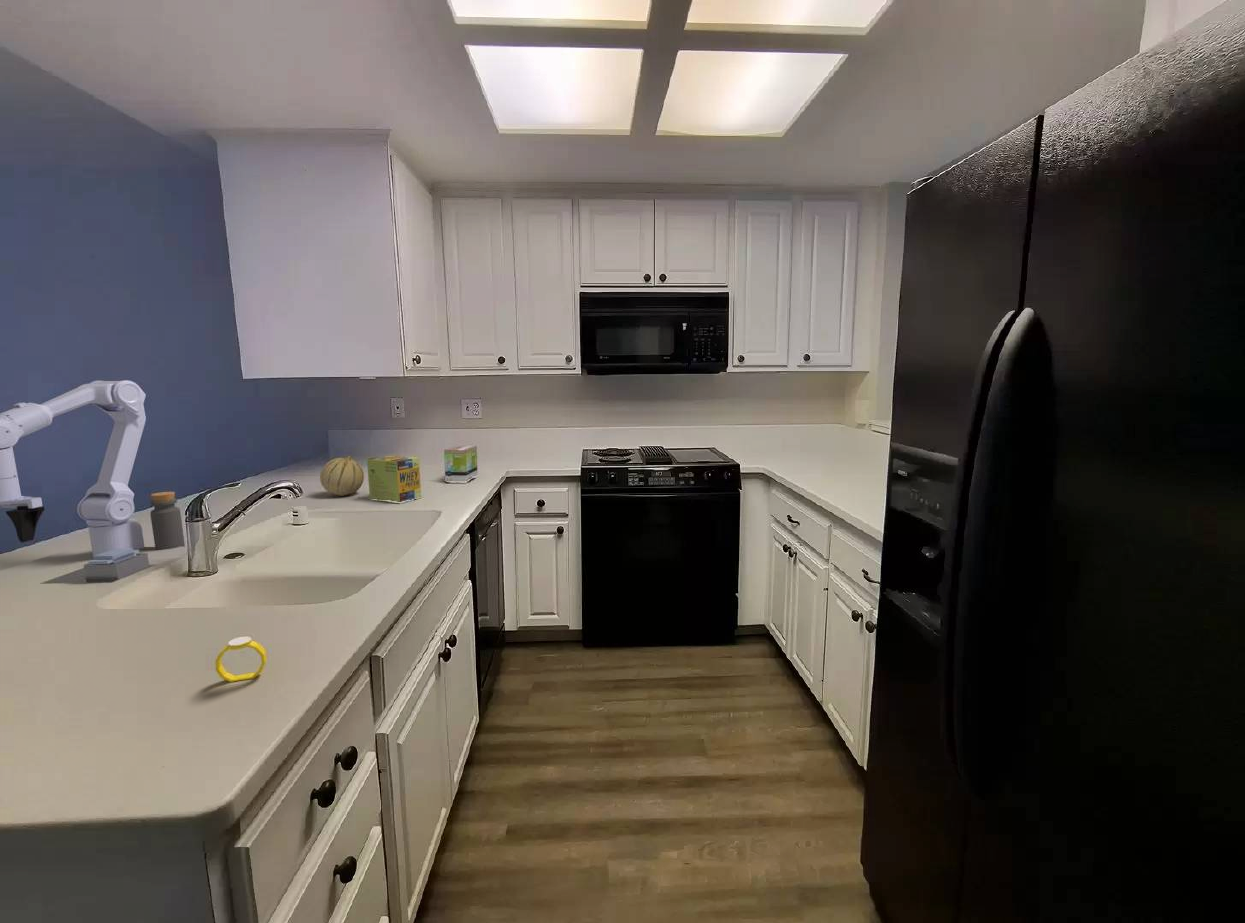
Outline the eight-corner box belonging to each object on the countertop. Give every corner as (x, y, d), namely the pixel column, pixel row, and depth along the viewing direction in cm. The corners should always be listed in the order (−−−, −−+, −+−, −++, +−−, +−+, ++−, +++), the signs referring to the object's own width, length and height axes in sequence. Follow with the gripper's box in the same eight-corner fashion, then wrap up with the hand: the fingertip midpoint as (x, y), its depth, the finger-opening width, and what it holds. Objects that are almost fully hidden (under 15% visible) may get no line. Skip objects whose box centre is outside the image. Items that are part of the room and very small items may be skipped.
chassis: (91, 569, 123) (88, 551, 123) (156, 568, 124) (153, 550, 123) (40, 587, 112) (37, 568, 112) (112, 586, 113) (109, 567, 112)
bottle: (182, 544, 142) (174, 490, 140) (187, 549, 138) (180, 492, 136) (153, 550, 137) (145, 493, 135) (158, 554, 134) (150, 496, 131)
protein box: (400, 504, 188) (397, 461, 185) (369, 500, 194) (365, 458, 192) (422, 498, 197) (419, 457, 195) (392, 495, 204) (389, 455, 201)
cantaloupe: (317, 495, 203) (313, 456, 201) (357, 489, 213) (354, 453, 211) (329, 501, 193) (325, 460, 191) (371, 495, 203) (368, 456, 201)
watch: (269, 671, 80) (268, 634, 79) (263, 681, 77) (262, 642, 76) (221, 676, 78) (219, 638, 77) (214, 686, 75) (212, 647, 74)
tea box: (468, 483, 225) (466, 449, 223) (444, 483, 225) (442, 449, 223) (478, 477, 240) (476, 445, 238) (456, 477, 240) (454, 445, 238)
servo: (125, 567, 122) (121, 546, 121) (142, 567, 122) (139, 546, 121) (91, 580, 114) (87, 557, 113) (110, 580, 114) (106, 557, 113)
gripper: (-63, 482, 106) (-50, 547, 108) (11, 481, 106) (23, 546, 108) (-21, 475, 113) (-10, 537, 115) (48, 475, 113) (58, 536, 115)
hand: (8, 541), depth 112 cm, fingers open, 7 cm apart
